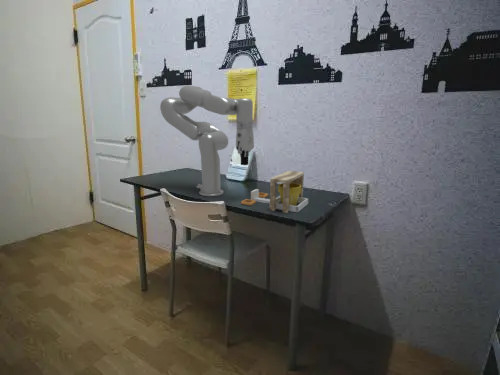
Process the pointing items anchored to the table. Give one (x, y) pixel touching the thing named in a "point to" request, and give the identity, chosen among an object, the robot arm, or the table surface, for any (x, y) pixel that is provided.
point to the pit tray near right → (248, 202)
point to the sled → (292, 208)
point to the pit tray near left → (263, 195)
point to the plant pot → (291, 193)
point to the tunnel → (285, 187)
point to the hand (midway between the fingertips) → (244, 164)
